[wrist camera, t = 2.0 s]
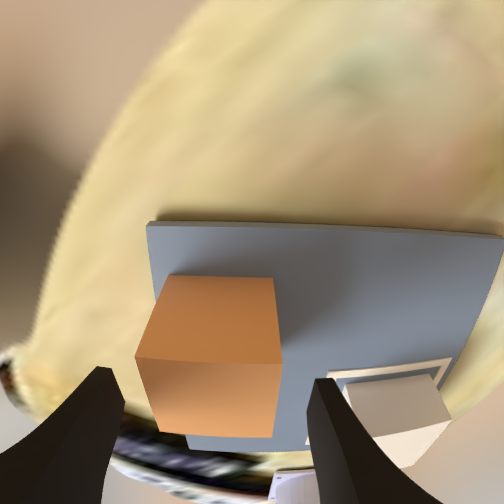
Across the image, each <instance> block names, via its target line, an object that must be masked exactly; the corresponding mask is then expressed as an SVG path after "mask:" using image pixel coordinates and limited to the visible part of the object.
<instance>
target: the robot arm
mask: <svg viewBox="0 0 504 504" xmlns="http://www.w3.org/2000/svg"><path fill="white" fill-rule="evenodd" d="M124 405H125V400H124V398H123V396H122V393H121V391H120V389H119V386H118V384H117V381H116V379H115V376H114V374H113V371H112V369H111V368H106V367H99V366H97V367H96V368H95V369H94V370H93V371H92V372H91V373H90V374H89V375H88V376H87V377H86V378H85V379H84V381H83V382H82V383H81V384H80V385H79V386H78V387H77V388H76V389H75V390H74V391H73V393H72V394H71V395H70V396H69V397H68V398H67V399H66V400H65V401H64V402H63V403H62V404H61V405H60V406H59V407H58V408H57V409H56V410H55V411H54V412H53V413H52V414H51V415H50V416H49V417H48V418H47V419H46V420H45V421H44V422H43V423H42V424H40V425H39V426H38V427H37V428H36V429H35V430H34V431H32V432H31V433H30V434H28V435H27V436H26V437H25V438H23V439H22V440H21V441H19V442H18V443H16V444H15V445H13V446H12V447H10V448H9V449H7V450H6V451H4V452H3V453H1V454H0V504H101V499H102V492H103V485H104V479H105V475H106V471H107V467H108V464H109V461H110V458H111V454H112V451H113V448H114V445H115V442H116V439H117V435H118V432H119V429H120V426H121V421H122V416H123V411H124ZM306 415H307V428H308V438H309V443H310V448H311V453H312V458H313V463H314V468H315V469H306V470H291V471H277V472H275V473H274V476H273V480H272V484H271V488H270V492H269V496H268V501H270V502H276V504H443V503H441V502H440V501H438V500H437V499H435V498H434V497H433V496H431V495H430V494H428V493H427V492H426V491H424V490H423V489H422V488H421V487H420V486H418V485H417V484H416V483H415V482H414V481H412V480H411V479H410V478H409V477H408V476H407V475H406V474H404V473H403V472H402V471H401V470H400V469H399V468H398V467H397V466H396V465H395V464H394V463H393V462H392V461H391V459H390V458H389V457H388V456H387V455H386V454H385V453H384V452H383V451H382V449H381V448H380V447H379V446H378V445H377V443H376V442H375V441H374V440H373V438H372V437H371V436H370V434H369V433H368V432H367V430H366V429H365V428H364V426H363V425H362V423H361V422H360V420H359V419H358V418H357V416H356V415H355V413H354V412H353V410H352V409H351V407H350V405H349V404H348V402H347V401H346V399H345V397H344V396H343V394H342V392H341V391H340V389H339V387H338V385H337V384H336V382H335V380H334V379H333V378H315V381H314V384H313V388H312V392H311V396H310V399H309V403H308V407H307V410H306Z"/></svg>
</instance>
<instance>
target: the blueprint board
mask: <svg viewBox="0 0 504 504" xmlns="http://www.w3.org/2000/svg"><path fill="white" fill-rule="evenodd" d="M146 233H147V241H148V250H149V258H150V265H151V272H152V279H153V286H154V292H155V299H156V302H157V300H158V297H159V295H160V293H161V290H162V288H163V286H164V283H165V281H166V279H167V276H168V275H183V276H216V277H258V278H273V283H274V291H275V300H276V308H277V317H278V325H279V334H280V343H281V352H282V361H283V367H282V374H281V381H280V388H279V395H278V401H277V408H276V415H275V421H274V427H273V433H272V437H270V438H247V437H218V436H202V435H190V434H185V435H186V439H187V442H188V446H189V449H195V450H208V451H226V452H288V451H306V450H311V448H310V443H309V438H308V428H307V415H306V410H307V407H308V403H309V399H310V396H311V392H312V388H313V384H314V381H315V378H333V379H334V380H335V382H336V384H337V385H338V387H339V389H340V391H341V392H342V391H343V389H344V386H345V384H351V383H362V382H372V381H380V380H389V379H396V378H403V377H410V376H417V375H423V374H430V376H431V378H432V380H433V382H434V384H435V386H436V388H437V390H438V392H439V390H440V388H441V387H442V385H443V383H444V382H445V380H446V378H447V377H448V375H449V373H450V372H451V370H452V368H453V366H454V364H455V363H456V361H457V359H458V357H459V355H460V353H461V351H462V350H463V348H464V346H465V344H466V342H467V340H468V338H469V336H470V334H471V331H472V329H473V327H474V325H475V323H476V321H477V319H478V316H479V314H480V312H481V310H482V307H483V305H484V303H485V300H486V298H487V295H488V293H489V290H490V288H491V285H492V283H493V280H494V277H495V274H496V272H497V269H498V266H499V263H500V260H501V257H502V254H503V251H504V238H503V237H502V236H501V235H489V234H477V233H464V232H451V231H437V230H421V229H405V228H388V227H369V226H348V225H325V224H298V223H265V222H218V221H150V222H149V223H148V224H147V225H146Z"/></svg>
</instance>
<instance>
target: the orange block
mask: <svg viewBox="0 0 504 504" xmlns="http://www.w3.org/2000/svg"><path fill="white" fill-rule="evenodd" d="M135 360H136V363H137V366H138V370H139V373H140V376H141V379H142V382H143V385H144V388H145V391H146V394H147V397H148V400H149V403H150V406H151V408H152V411H153V414H154V417H155V419H156V422H157V425H158V427H159V430H160V431H163V432H171V433H180V434H190V435H202V436H218V437H247V438H270V437H272V433H273V427H274V421H275V415H276V408H277V401H278V395H279V388H280V381H281V374H282V367H283V361H282V352H281V343H280V334H279V325H278V317H277V308H276V300H275V291H274V283H273V278H258V277H216V276H183V275H168V276H167V279H166V281H165V283H164V286H163V288H162V290H161V293H160V295H159V297H158V300H157V302H156V304H155V307H154V309H153V312H152V314H151V316H150V319H149V321H148V324H147V326H146V329H145V331H144V334H143V336H142V339H141V341H140V344H139V346H138V349H137V352H136V354H135Z"/></svg>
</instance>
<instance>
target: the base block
mask: <svg viewBox="0 0 504 504" xmlns="http://www.w3.org/2000/svg"><path fill="white" fill-rule="evenodd" d="M342 394H343V396H344V397H345V399H346V401H347V402H348V404H349V405H350V407H351V409H352V410H353V412H354V413H355V415H356V416H357V418H358V419H359V420H360V422H361V423H362V425H363V426H364V428H365V429H366V430H367V432H368V433H369V434H370V436H371V437H372V438H373V440H374V441H375V442H376V443H377V445H378V446H379V447H380V448H381V449H382V451H383V452H384V453H385V454H386V455H387V456H388V457H389V458H390V459H391V461H392V462H393V463H394V464H395V465H396V466H397V467H398V468H399V469H401V468H405V467H409V466H413V465H414V464H415V463H416V462H417V460H418V459H419V458H420V457H421V456H422V455H423V454H424V453H425V452H426V451H427V449H428V448H429V447H430V446H431V445H432V444H433V443H434V441H435V440H436V439H437V438H438V437H439V436H440V434H441V433H442V432H443V431H444V429H445V428H446V427H447V426H448V424H449V423H450V422H451V421H452V418H451V416H450V414H449V412H448V410H447V408H446V406H445V404H444V402H443V400H442V398H441V396H440V394H439V392H438V390H437V388H436V386H435V384H434V382H433V380H432V378H431V376H430V374H423V375H417V376H410V377H403V378H396V379H389V380H380V381H372V382H362V383H351V384H345V386H344V389H343V391H342Z"/></svg>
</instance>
